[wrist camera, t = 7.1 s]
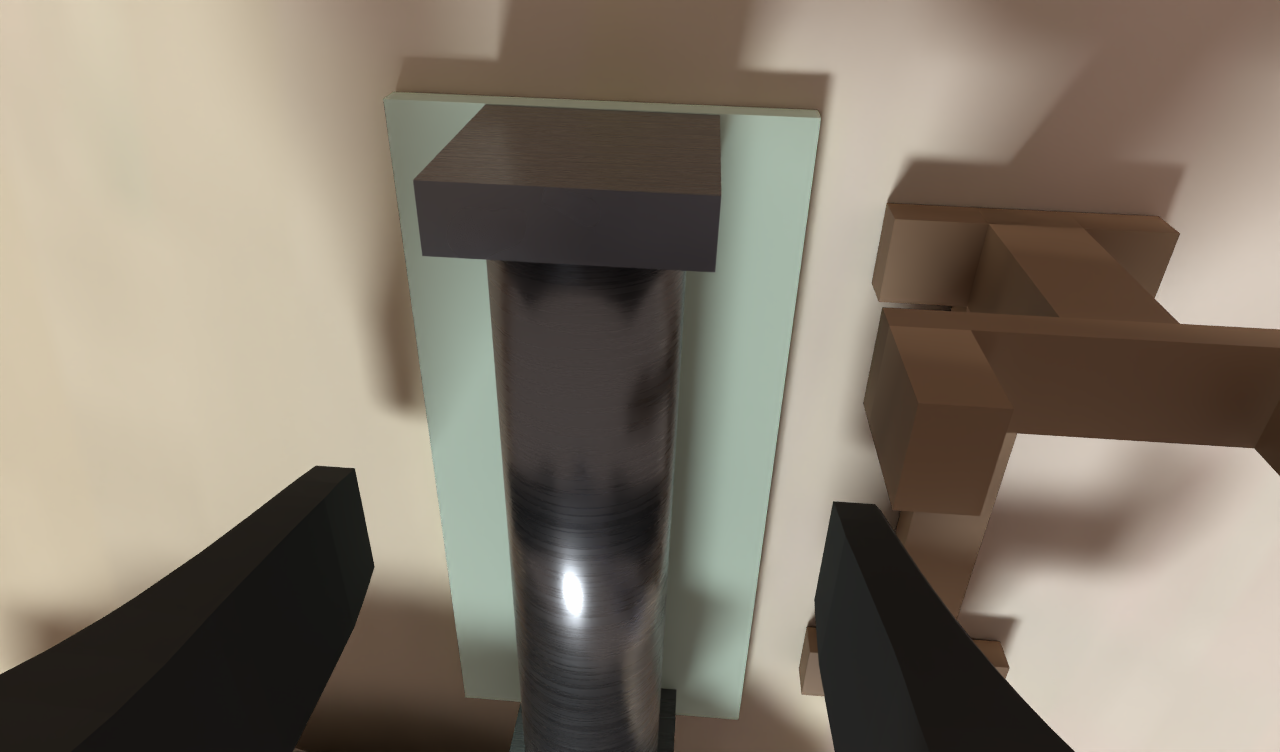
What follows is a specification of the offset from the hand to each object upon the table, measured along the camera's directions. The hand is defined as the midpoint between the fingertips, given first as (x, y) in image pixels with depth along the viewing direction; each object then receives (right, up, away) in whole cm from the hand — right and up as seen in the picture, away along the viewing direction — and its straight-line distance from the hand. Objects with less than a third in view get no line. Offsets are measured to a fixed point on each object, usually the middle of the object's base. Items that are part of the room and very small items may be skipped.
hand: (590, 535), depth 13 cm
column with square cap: (0, +1, +1) cm, 1 cm away
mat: (0, +1, +1) cm, 2 cm away
